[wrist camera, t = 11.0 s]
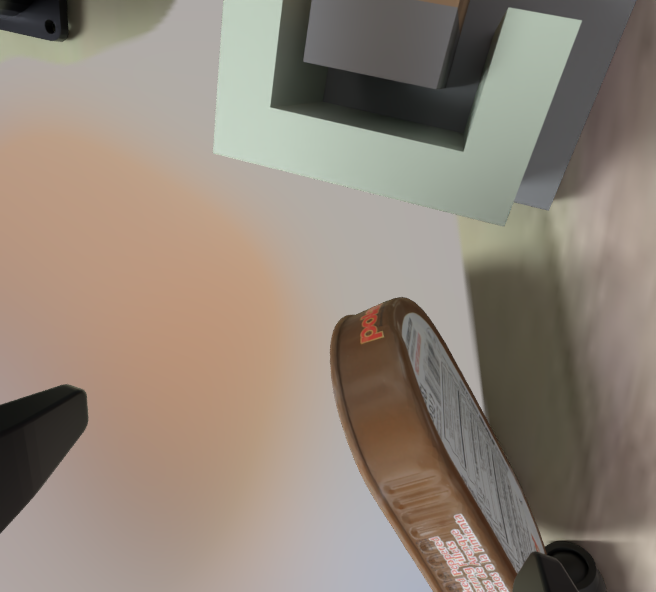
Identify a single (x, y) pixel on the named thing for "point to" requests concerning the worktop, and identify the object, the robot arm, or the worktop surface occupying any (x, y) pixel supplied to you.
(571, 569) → the door handle
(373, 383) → the tin
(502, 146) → the post frame
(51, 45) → the worktop surface
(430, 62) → the rail
